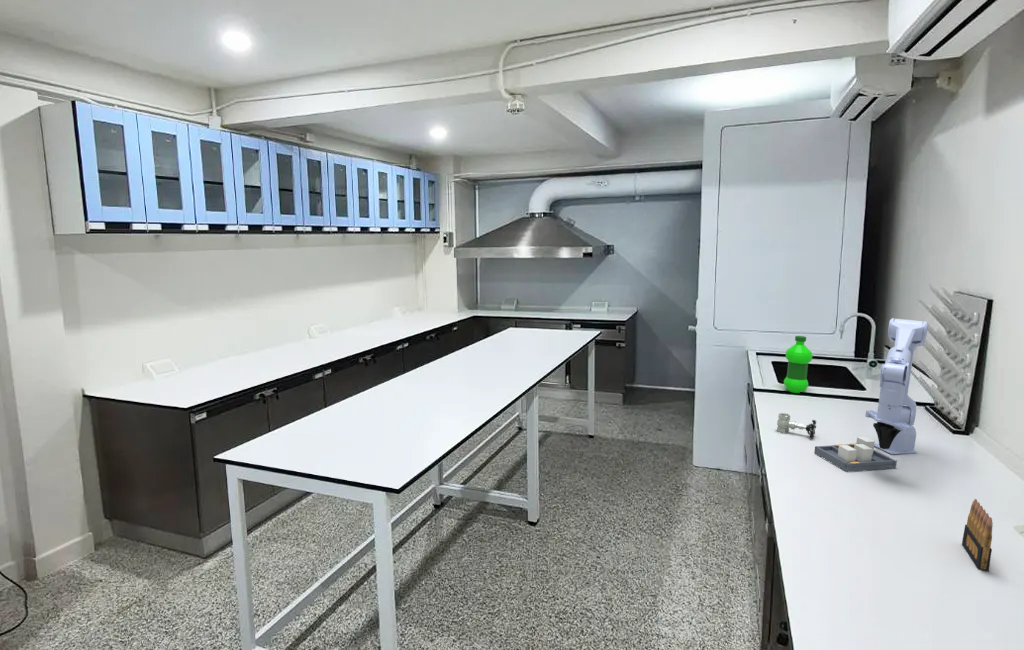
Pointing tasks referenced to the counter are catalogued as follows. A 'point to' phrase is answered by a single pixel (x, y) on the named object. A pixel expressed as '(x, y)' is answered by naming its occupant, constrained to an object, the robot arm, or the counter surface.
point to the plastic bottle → (797, 366)
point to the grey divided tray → (876, 461)
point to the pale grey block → (866, 442)
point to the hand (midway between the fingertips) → (884, 448)
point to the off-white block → (863, 452)
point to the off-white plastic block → (847, 453)
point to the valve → (793, 425)
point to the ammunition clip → (978, 536)
